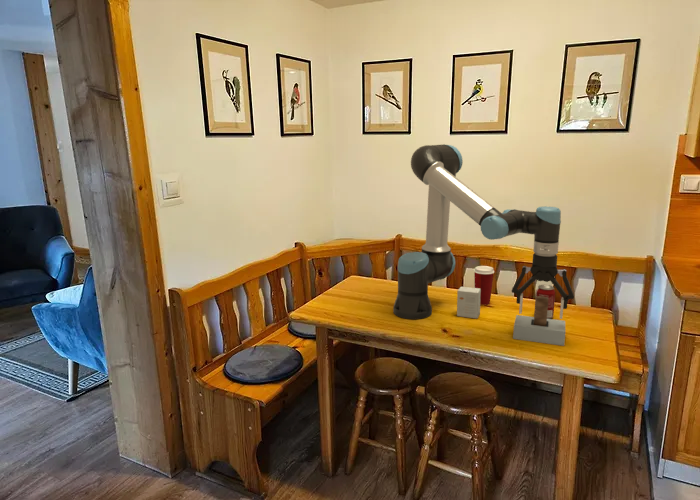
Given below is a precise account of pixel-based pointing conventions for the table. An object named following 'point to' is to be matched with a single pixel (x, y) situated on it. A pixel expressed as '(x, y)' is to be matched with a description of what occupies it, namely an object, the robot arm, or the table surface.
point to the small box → (468, 302)
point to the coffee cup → (484, 282)
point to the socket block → (539, 330)
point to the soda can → (550, 294)
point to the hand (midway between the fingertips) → (540, 314)
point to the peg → (541, 311)
